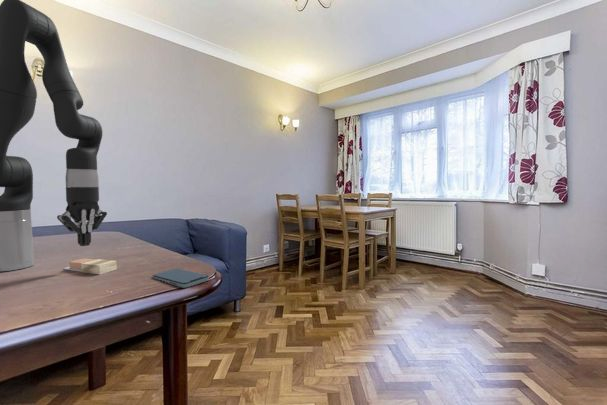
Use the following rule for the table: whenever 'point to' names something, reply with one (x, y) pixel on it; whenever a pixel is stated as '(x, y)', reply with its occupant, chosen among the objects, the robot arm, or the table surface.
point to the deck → (98, 266)
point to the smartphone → (181, 277)
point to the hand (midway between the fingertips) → (84, 245)
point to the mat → (71, 269)
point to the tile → (78, 263)
